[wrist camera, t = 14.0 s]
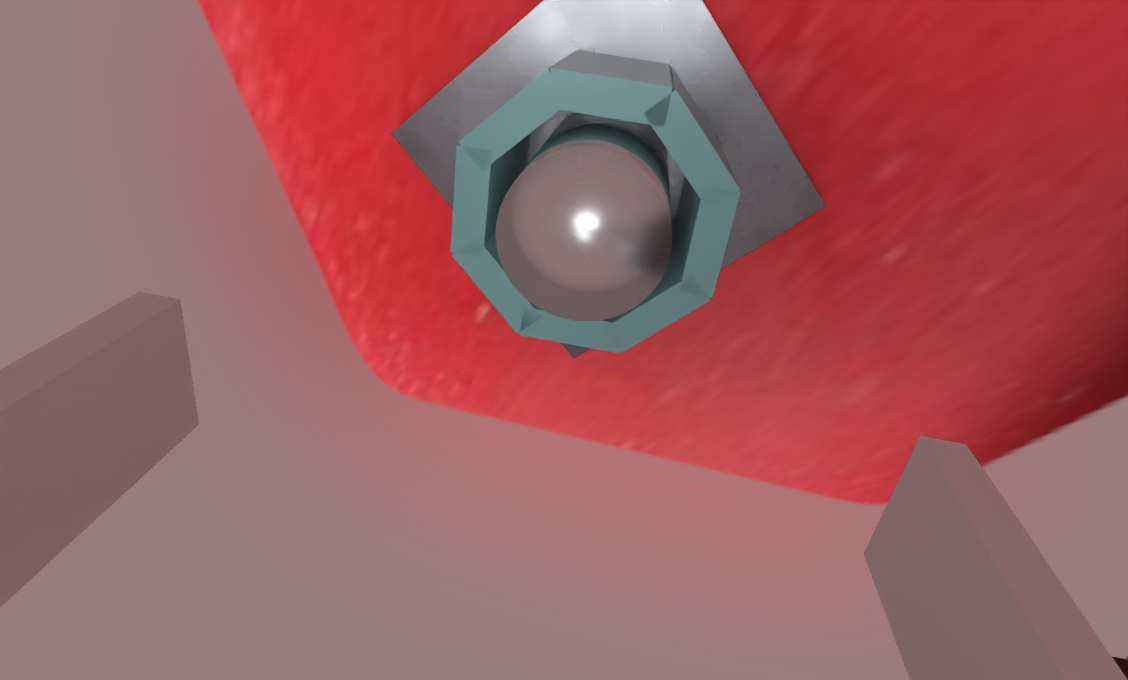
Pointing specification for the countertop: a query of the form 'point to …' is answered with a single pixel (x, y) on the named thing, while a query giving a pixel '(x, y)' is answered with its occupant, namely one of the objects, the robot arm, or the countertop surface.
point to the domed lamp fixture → (610, 155)
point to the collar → (619, 94)
